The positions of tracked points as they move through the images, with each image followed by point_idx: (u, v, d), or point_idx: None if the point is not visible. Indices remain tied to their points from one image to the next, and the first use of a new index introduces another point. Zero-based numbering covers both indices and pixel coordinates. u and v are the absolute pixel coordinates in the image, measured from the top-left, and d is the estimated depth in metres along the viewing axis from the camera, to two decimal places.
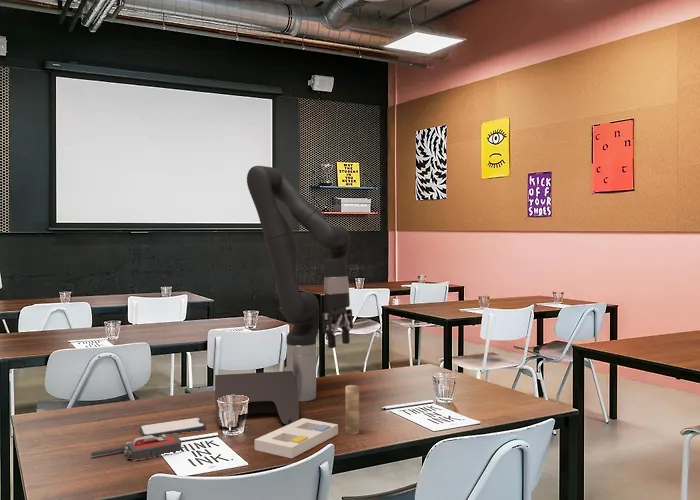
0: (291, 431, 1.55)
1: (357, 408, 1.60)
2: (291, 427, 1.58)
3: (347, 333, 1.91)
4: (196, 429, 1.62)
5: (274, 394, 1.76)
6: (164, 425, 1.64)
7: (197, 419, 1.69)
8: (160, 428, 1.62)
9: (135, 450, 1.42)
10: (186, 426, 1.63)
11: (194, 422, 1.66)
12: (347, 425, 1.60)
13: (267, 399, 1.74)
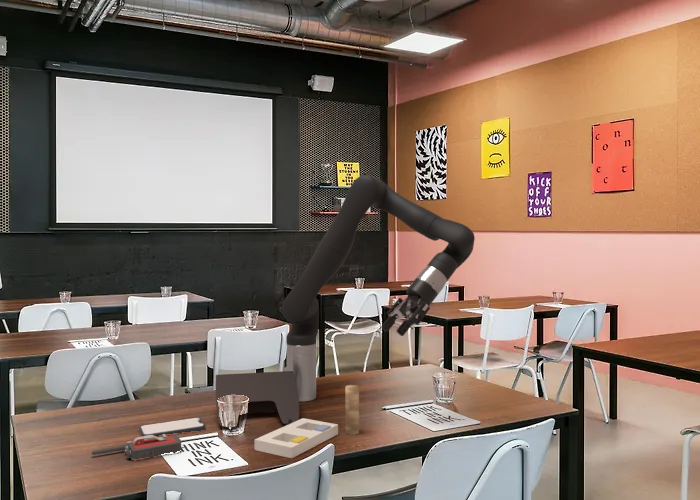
0: (291, 431, 1.55)
1: (357, 408, 1.60)
2: (291, 427, 1.58)
3: (393, 323, 1.70)
4: (196, 429, 1.62)
5: (274, 394, 1.76)
6: (163, 425, 1.64)
7: (197, 419, 1.69)
8: (160, 428, 1.62)
9: (135, 450, 1.42)
10: (186, 426, 1.63)
11: (194, 422, 1.66)
12: (347, 425, 1.60)
13: (267, 399, 1.74)
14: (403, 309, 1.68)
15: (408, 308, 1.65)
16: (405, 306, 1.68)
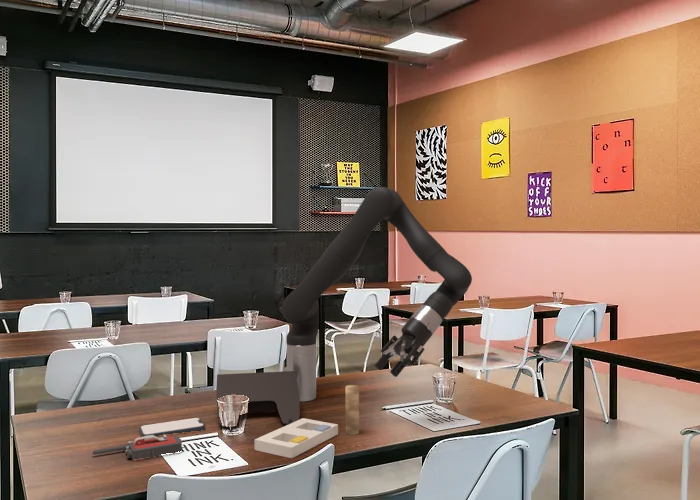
0: (291, 431, 1.55)
1: (357, 408, 1.60)
2: (291, 427, 1.58)
3: (387, 361, 1.70)
4: (196, 429, 1.62)
5: (275, 394, 1.77)
6: (163, 425, 1.64)
7: (197, 419, 1.69)
8: (160, 428, 1.62)
9: (135, 450, 1.42)
10: (185, 426, 1.63)
11: (194, 422, 1.66)
12: (347, 425, 1.60)
13: (268, 399, 1.74)
14: (397, 348, 1.67)
15: (402, 348, 1.64)
16: (399, 345, 1.67)
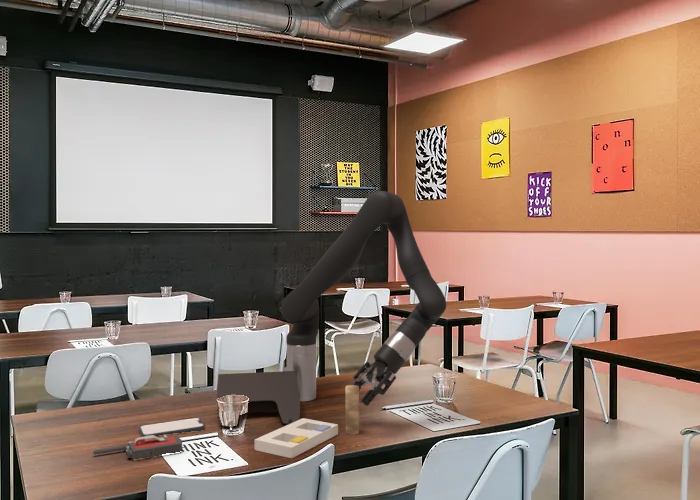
0: (291, 431, 1.55)
1: (357, 408, 1.60)
2: (291, 427, 1.58)
3: (359, 388, 1.66)
4: (195, 429, 1.62)
5: (276, 394, 1.77)
6: (163, 425, 1.64)
7: (196, 419, 1.69)
8: (159, 428, 1.62)
9: (135, 450, 1.42)
10: (185, 426, 1.63)
11: (194, 422, 1.66)
12: (347, 425, 1.60)
13: (269, 399, 1.75)
14: (369, 376, 1.64)
15: (374, 376, 1.61)
16: (371, 373, 1.64)
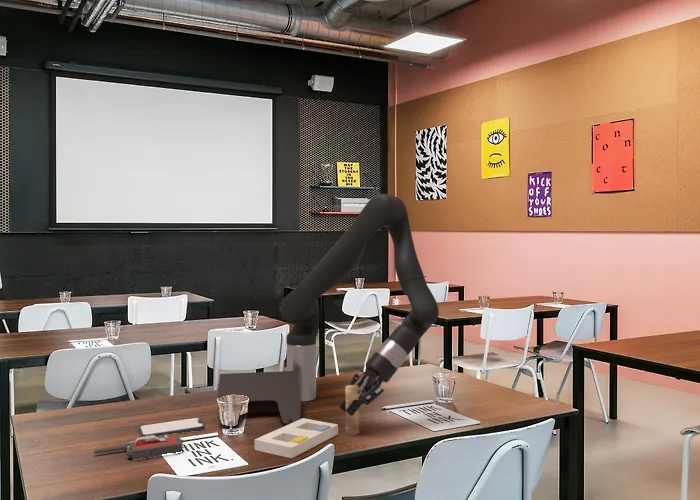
0: (291, 431, 1.55)
1: None
2: (291, 427, 1.58)
3: None
4: (195, 429, 1.62)
5: (277, 394, 1.77)
6: (163, 425, 1.64)
7: (196, 419, 1.69)
8: (159, 428, 1.62)
9: (135, 450, 1.42)
10: (185, 426, 1.63)
11: (193, 422, 1.66)
12: (347, 425, 1.60)
13: (269, 398, 1.75)
14: (361, 384, 1.63)
15: (362, 386, 1.60)
16: (363, 381, 1.63)
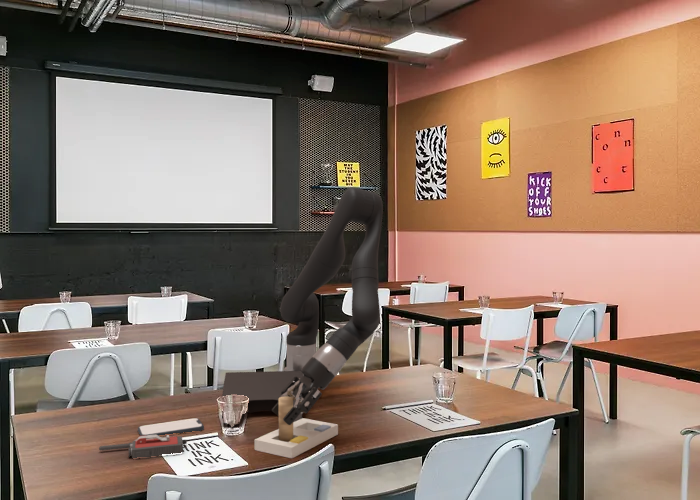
0: None
1: None
2: None
3: None
4: (194, 429, 1.62)
5: None
6: (162, 426, 1.64)
7: (195, 419, 1.69)
8: (158, 429, 1.62)
9: (135, 448, 1.43)
10: (184, 426, 1.63)
11: (192, 422, 1.66)
12: (280, 440, 1.49)
13: (273, 398, 1.75)
14: (295, 392, 1.51)
15: (299, 393, 1.48)
16: (298, 388, 1.52)
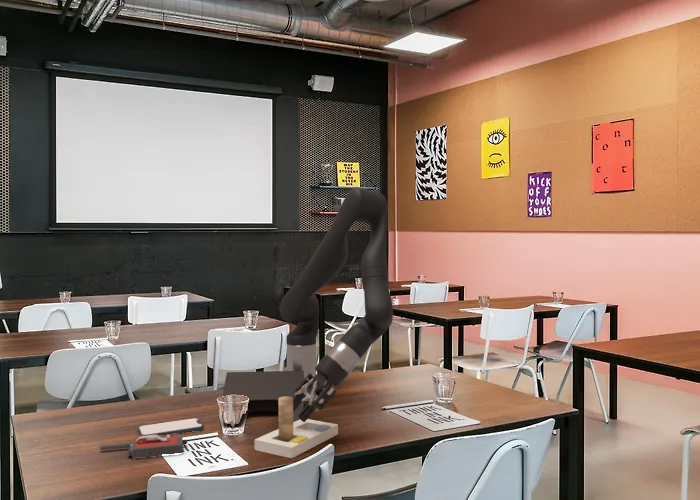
0: None
1: (291, 421, 1.49)
2: None
3: (299, 402, 1.56)
4: (194, 429, 1.62)
5: (281, 393, 1.77)
6: (162, 426, 1.64)
7: (195, 419, 1.69)
8: (158, 429, 1.61)
9: (135, 448, 1.43)
10: (184, 426, 1.63)
11: (192, 423, 1.66)
12: (280, 440, 1.49)
13: (273, 398, 1.75)
14: (309, 389, 1.53)
15: (313, 390, 1.50)
16: (312, 386, 1.53)
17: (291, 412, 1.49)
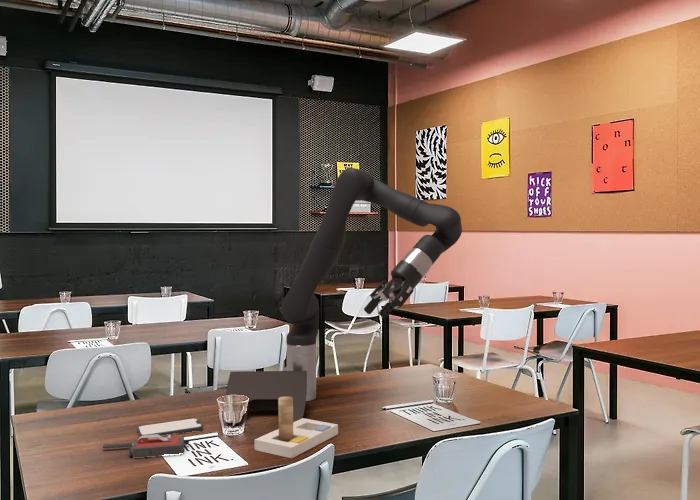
0: None
1: (291, 421, 1.49)
2: None
3: (376, 305, 1.67)
4: (193, 430, 1.62)
5: (283, 393, 1.78)
6: (161, 426, 1.64)
7: (195, 420, 1.69)
8: (157, 429, 1.61)
9: (135, 448, 1.43)
10: (183, 427, 1.63)
11: (192, 423, 1.66)
12: (280, 440, 1.49)
13: (275, 397, 1.76)
14: (386, 291, 1.64)
15: (391, 290, 1.61)
16: (389, 288, 1.64)
17: (291, 412, 1.49)
